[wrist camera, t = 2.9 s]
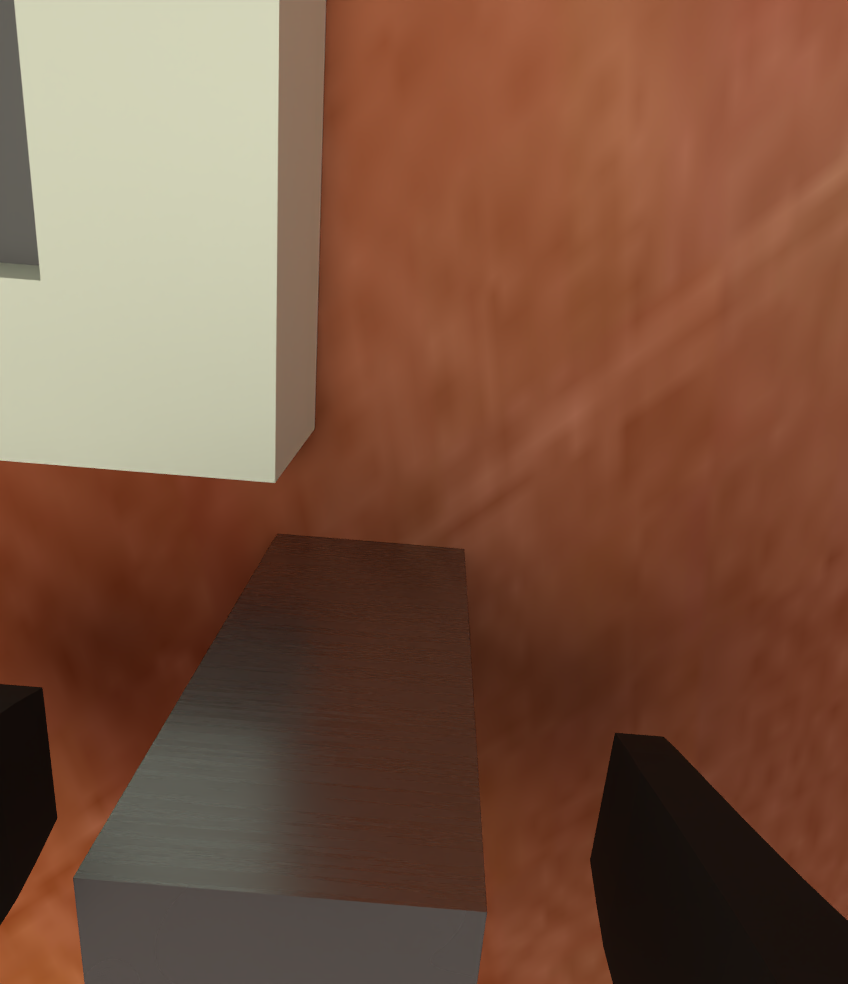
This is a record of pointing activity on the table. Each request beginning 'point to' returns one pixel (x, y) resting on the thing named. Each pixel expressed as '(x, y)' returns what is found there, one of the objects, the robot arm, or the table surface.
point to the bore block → (160, 233)
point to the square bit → (306, 789)
